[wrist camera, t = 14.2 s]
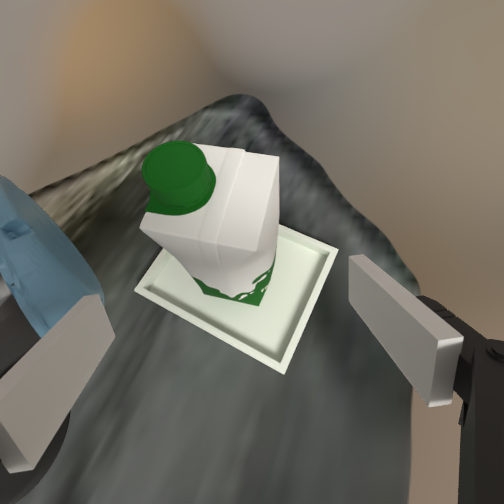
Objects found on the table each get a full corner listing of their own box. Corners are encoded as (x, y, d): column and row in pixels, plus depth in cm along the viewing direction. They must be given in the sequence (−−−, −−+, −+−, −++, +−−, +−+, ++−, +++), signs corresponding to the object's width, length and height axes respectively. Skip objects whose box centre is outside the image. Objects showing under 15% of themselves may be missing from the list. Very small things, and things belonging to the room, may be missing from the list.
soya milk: (214, 237, 37) (162, 109, 19) (279, 250, 36) (293, 126, 17) (194, 300, 34) (108, 218, 15) (265, 316, 32) (265, 249, 14)
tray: (141, 295, 35) (133, 290, 33) (205, 200, 40) (202, 191, 38) (282, 374, 30) (284, 374, 28) (334, 256, 36) (338, 249, 34)
